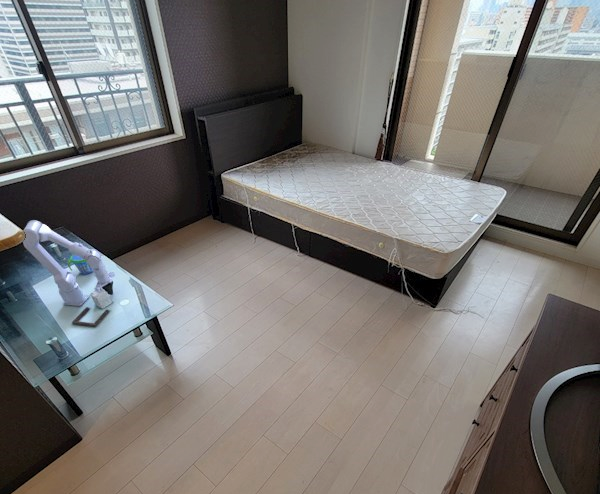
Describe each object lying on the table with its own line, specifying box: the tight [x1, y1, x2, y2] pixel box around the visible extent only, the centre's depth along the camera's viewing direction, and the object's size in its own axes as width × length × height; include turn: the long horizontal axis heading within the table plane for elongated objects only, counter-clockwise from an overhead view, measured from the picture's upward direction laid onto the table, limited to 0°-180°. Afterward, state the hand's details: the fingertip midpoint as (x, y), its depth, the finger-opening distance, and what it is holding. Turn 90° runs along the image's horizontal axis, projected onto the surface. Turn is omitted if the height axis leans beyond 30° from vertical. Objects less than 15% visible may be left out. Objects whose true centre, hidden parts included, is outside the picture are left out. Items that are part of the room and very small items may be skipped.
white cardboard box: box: [89, 288, 113, 310], centre depth 176 cm, size 6×6×7 cm
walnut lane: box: [71, 306, 110, 328], centre depth 170 cm, size 12×12×1 cm
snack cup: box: [67, 254, 94, 275], centre depth 197 cm, size 16×10×10 cm
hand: (110, 294), depth 183 cm, fingers closed
